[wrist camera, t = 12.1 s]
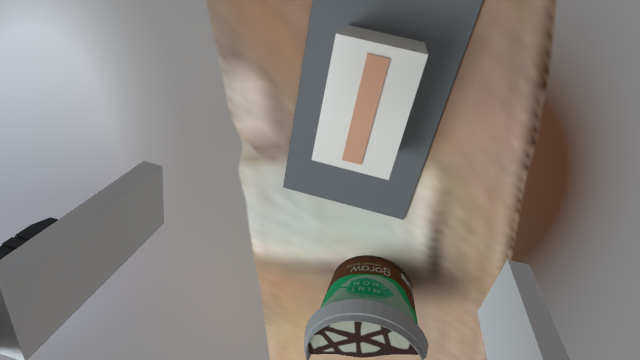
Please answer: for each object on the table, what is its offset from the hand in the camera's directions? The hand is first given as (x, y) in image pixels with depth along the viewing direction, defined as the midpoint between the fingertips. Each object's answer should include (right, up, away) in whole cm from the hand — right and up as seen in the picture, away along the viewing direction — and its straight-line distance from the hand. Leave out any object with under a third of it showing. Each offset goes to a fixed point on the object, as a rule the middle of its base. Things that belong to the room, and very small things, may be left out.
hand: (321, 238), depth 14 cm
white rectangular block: (+4, +10, +19) cm, 22 cm away
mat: (+5, +10, +20) cm, 23 cm away
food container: (+5, -8, +29) cm, 31 cm away
